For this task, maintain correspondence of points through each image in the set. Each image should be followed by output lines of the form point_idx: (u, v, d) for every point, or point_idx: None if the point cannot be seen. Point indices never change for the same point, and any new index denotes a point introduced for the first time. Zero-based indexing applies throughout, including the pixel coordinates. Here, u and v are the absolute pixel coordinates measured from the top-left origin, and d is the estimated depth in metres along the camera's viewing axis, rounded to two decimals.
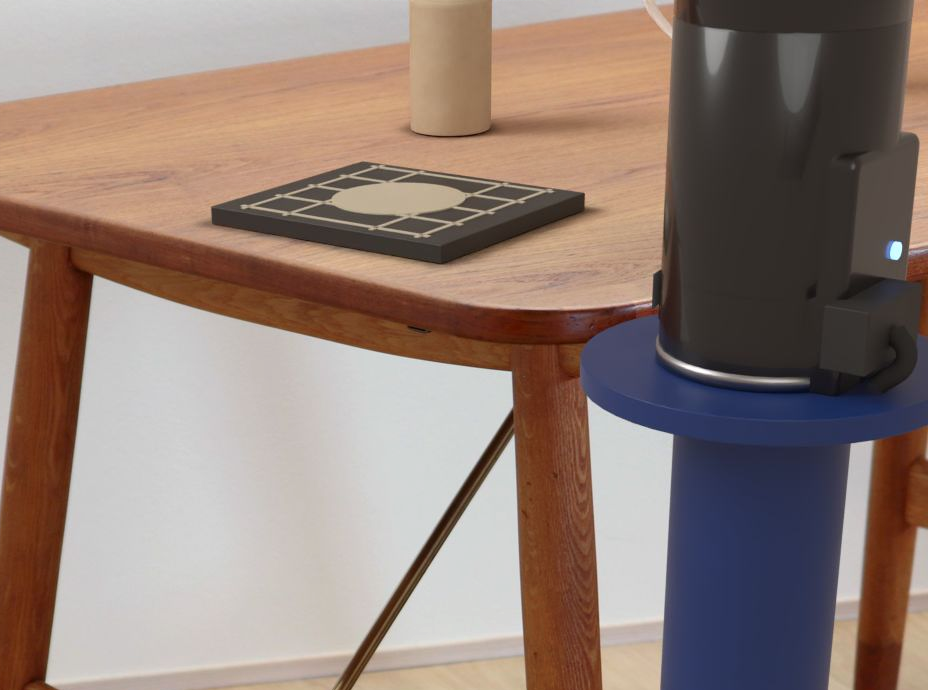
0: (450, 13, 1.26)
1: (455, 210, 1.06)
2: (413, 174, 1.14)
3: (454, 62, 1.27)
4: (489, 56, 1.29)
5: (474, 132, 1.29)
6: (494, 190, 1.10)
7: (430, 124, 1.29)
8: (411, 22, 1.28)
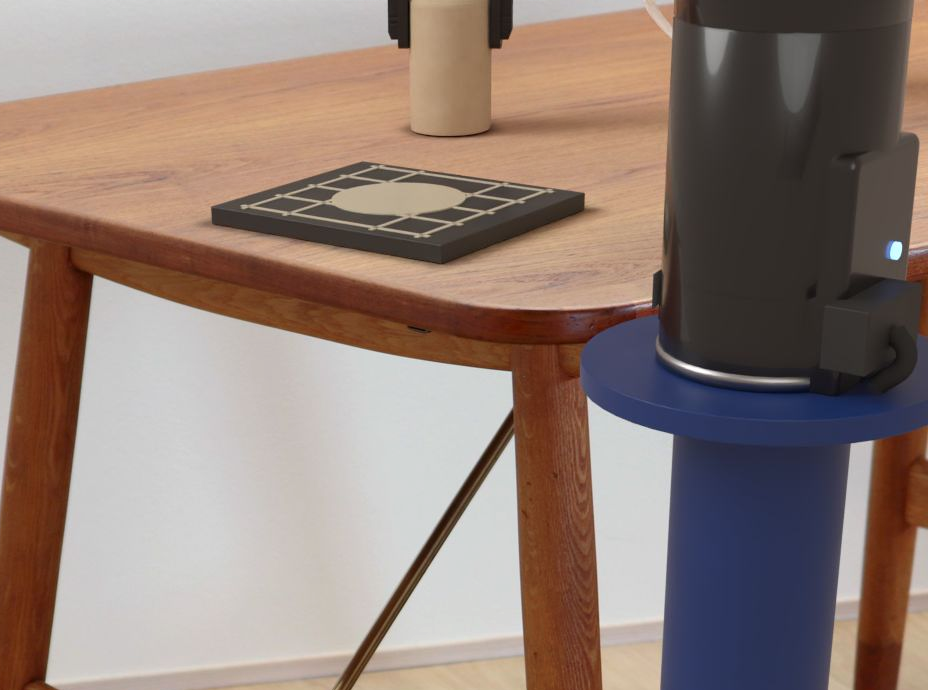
0: (449, 12, 1.26)
1: (455, 210, 1.06)
2: (413, 174, 1.14)
3: (454, 62, 1.27)
4: (489, 56, 1.29)
5: (474, 132, 1.29)
6: (494, 190, 1.10)
7: (430, 124, 1.29)
8: (411, 22, 1.28)
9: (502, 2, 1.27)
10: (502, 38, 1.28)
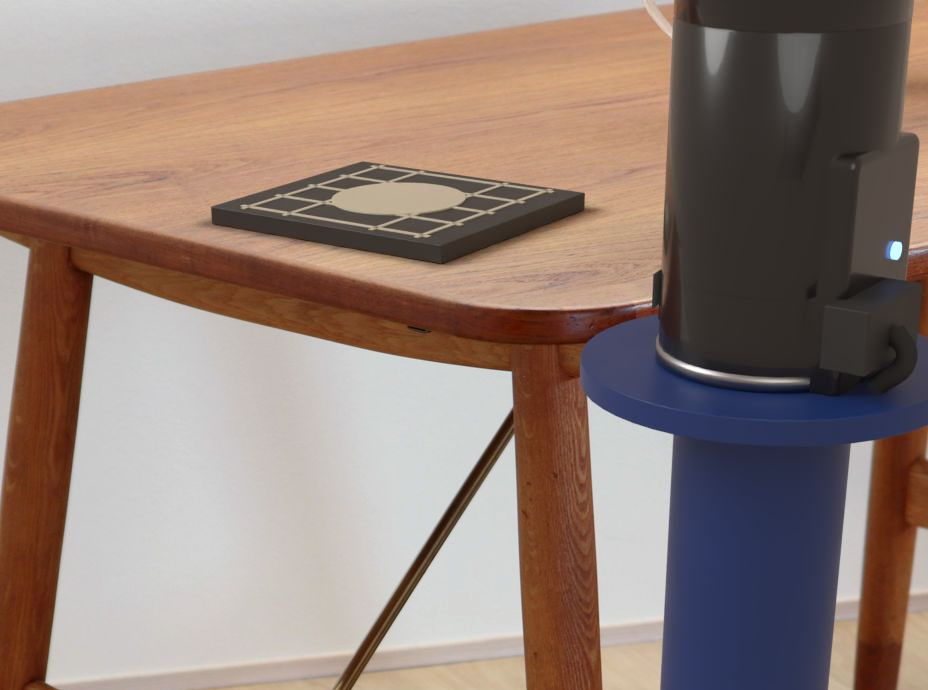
0: None
1: (455, 210, 1.06)
2: (413, 174, 1.14)
3: None
4: None
5: None
6: (494, 190, 1.10)
7: None
8: None
9: None
10: None
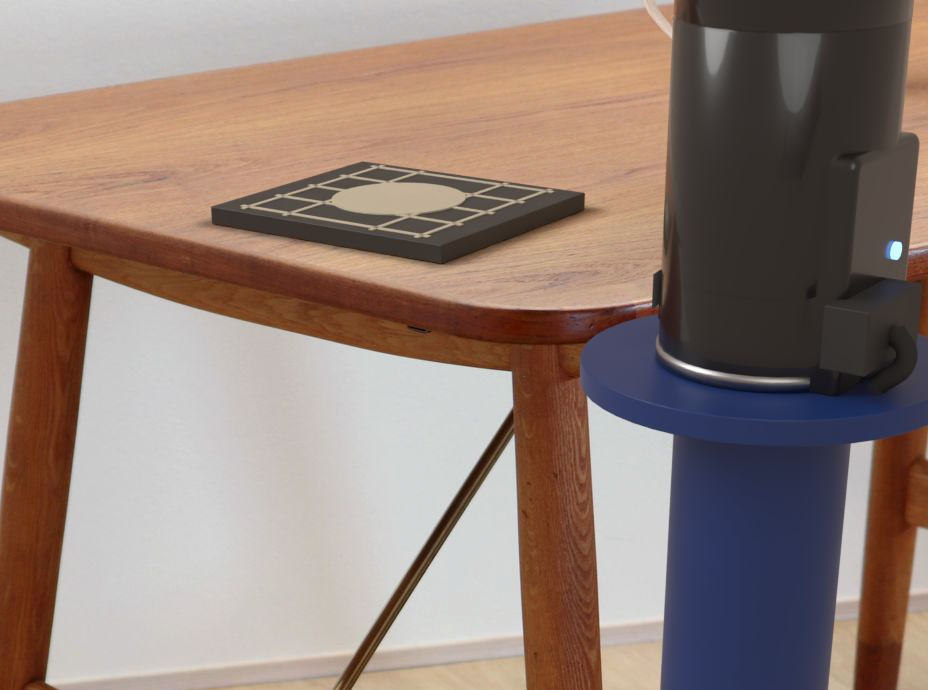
0: None
1: (455, 210, 1.06)
2: (413, 174, 1.14)
3: None
4: None
5: None
6: (494, 190, 1.10)
7: None
8: None
9: None
10: None
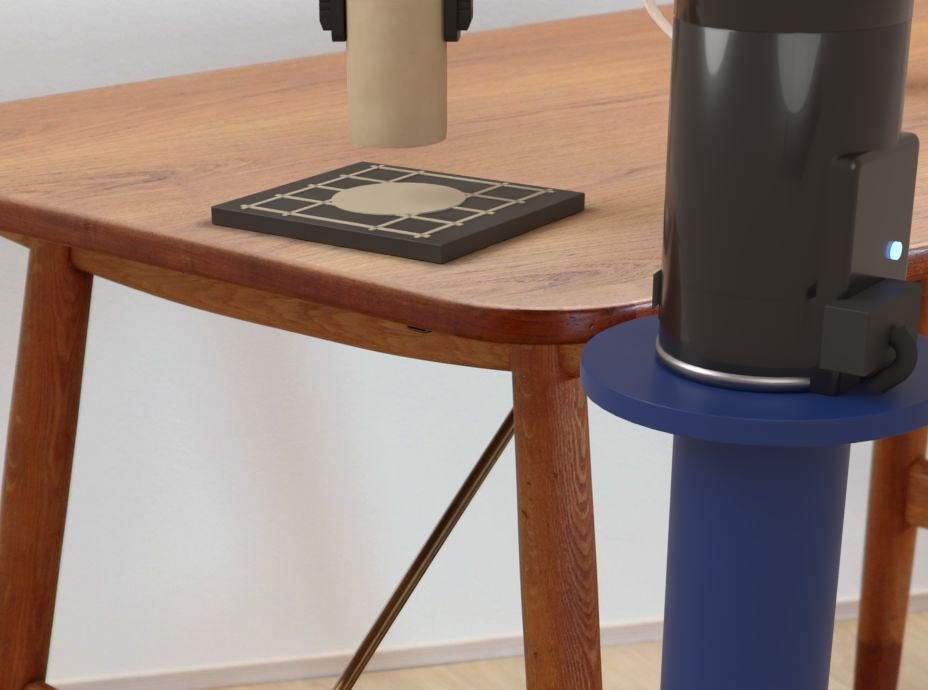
0: None
1: (455, 210, 1.06)
2: (413, 174, 1.14)
3: (400, 58, 1.03)
4: (444, 50, 1.04)
5: (426, 144, 1.05)
6: (494, 190, 1.10)
7: (371, 134, 1.05)
8: (347, 8, 1.04)
9: None
10: (459, 29, 1.04)
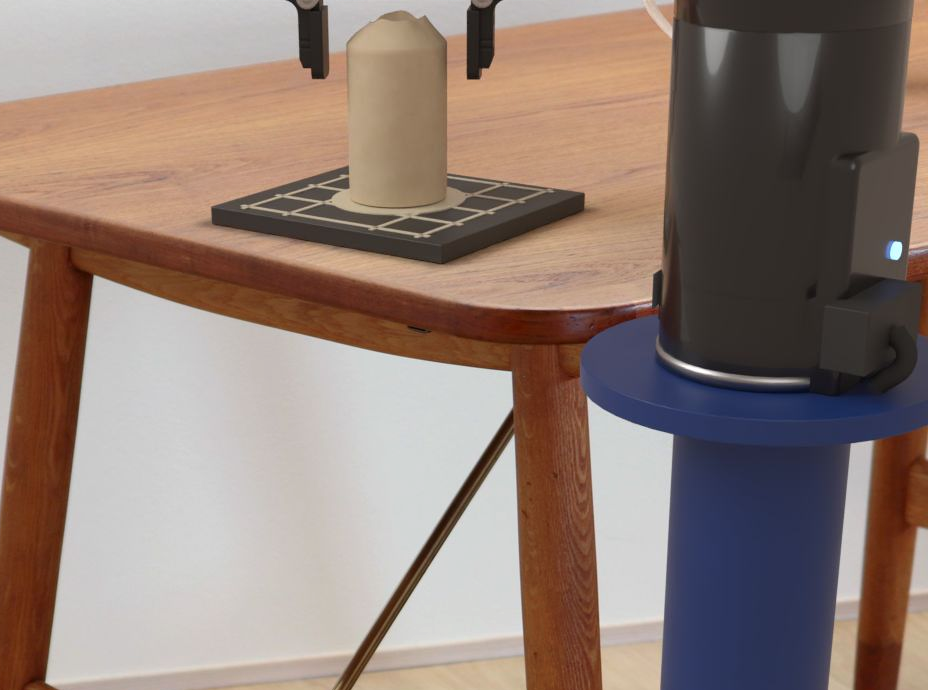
0: (394, 59, 1.03)
1: (455, 210, 1.06)
2: None
3: (401, 120, 1.04)
4: (444, 111, 1.06)
5: (426, 203, 1.07)
6: (494, 190, 1.10)
7: (372, 193, 1.06)
8: (349, 70, 1.05)
9: (481, 23, 1.03)
10: (481, 67, 1.04)
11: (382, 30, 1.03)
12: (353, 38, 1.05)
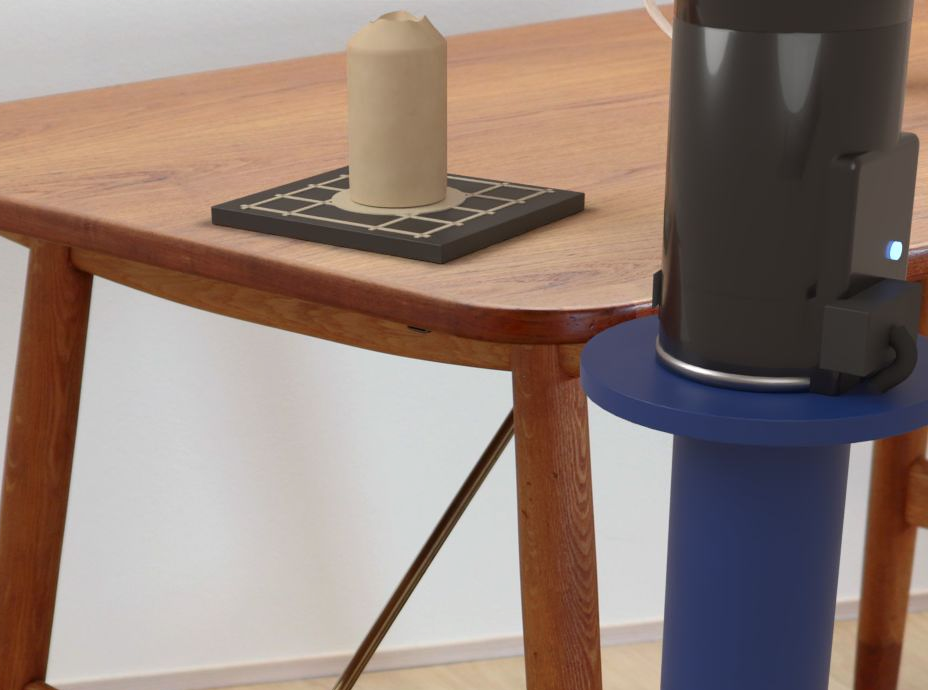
0: (394, 59, 1.03)
1: (455, 210, 1.06)
2: None
3: (401, 120, 1.04)
4: (444, 111, 1.06)
5: (426, 203, 1.07)
6: (494, 190, 1.10)
7: (372, 193, 1.06)
8: (349, 70, 1.05)
9: None
10: None
11: (382, 30, 1.03)
12: (353, 38, 1.05)
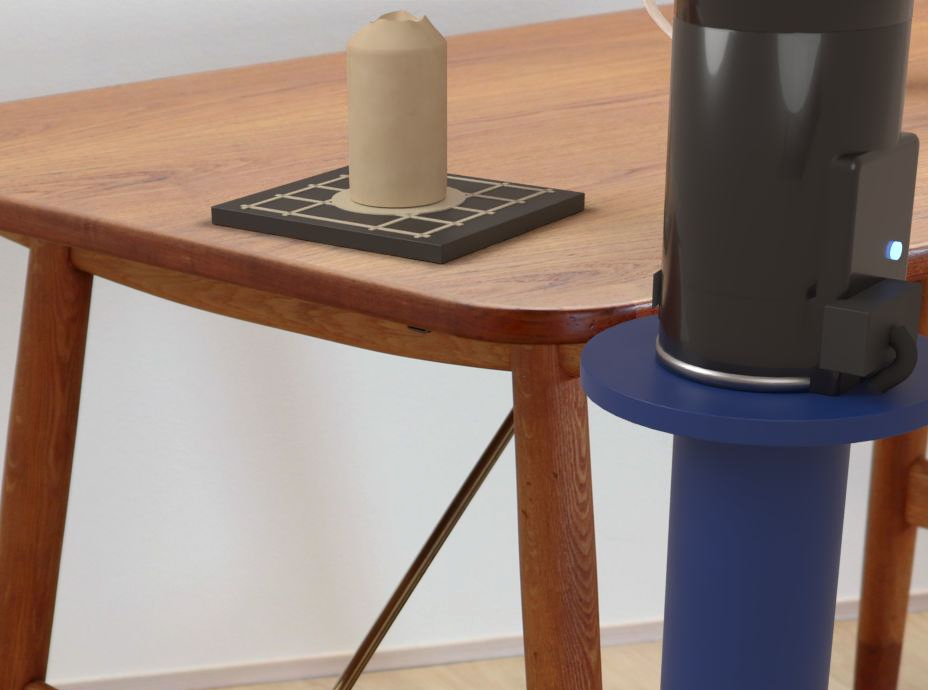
0: (394, 59, 1.03)
1: (455, 210, 1.06)
2: None
3: (401, 120, 1.04)
4: (444, 111, 1.06)
5: (426, 203, 1.07)
6: (494, 190, 1.10)
7: (372, 193, 1.06)
8: (349, 70, 1.05)
9: None
10: None
11: (382, 30, 1.03)
12: (353, 38, 1.05)
